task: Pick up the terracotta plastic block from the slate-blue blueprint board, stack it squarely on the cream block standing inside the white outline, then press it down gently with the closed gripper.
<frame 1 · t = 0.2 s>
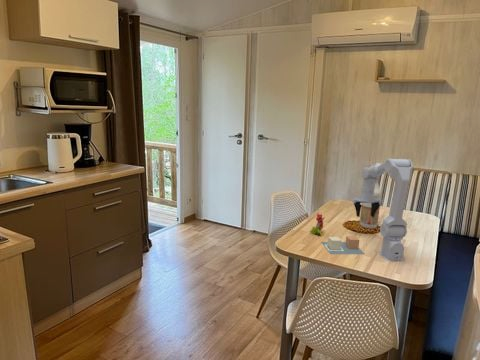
hand: (365, 216, 185), 10 cm above the table, tool pointing down, fingers open, 7 cm apart
blueprint board: (342, 249, 168), on the table
top block: (351, 247, 169), point 1 cm above the table, touching blueprint board
fruit juice: (368, 226, 201), on the table
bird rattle: (317, 234, 186), on the table
base block: (333, 247, 167), point 1 cm above the table, touching blueprint board
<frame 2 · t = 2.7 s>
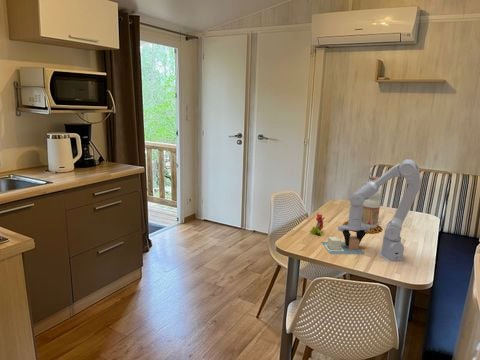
hand: (352, 245, 169), 2 cm above the table, tool pointing down, fingers closed on top block, 4 cm apart
top block: (351, 247, 169), point 1 cm above the table, touching blueprint board, gripper
everything else where it was.
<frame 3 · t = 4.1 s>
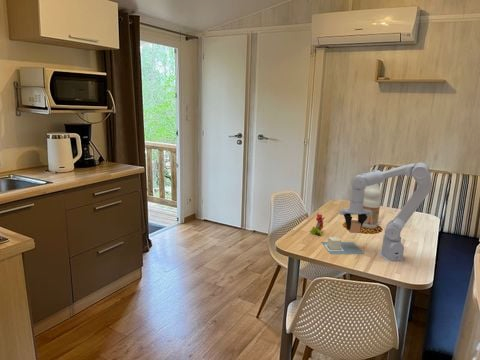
hand: (353, 229, 167), 9 cm above the table, tool pointing down, fingers closed on top block, 4 cm apart
top block: (353, 231, 167), point 9 cm above the table, touching gripper
everything else where it was.
when the fingers open (7 cm above the table, at t = 5.6 s): top block drops 1 cm, resting on base block.
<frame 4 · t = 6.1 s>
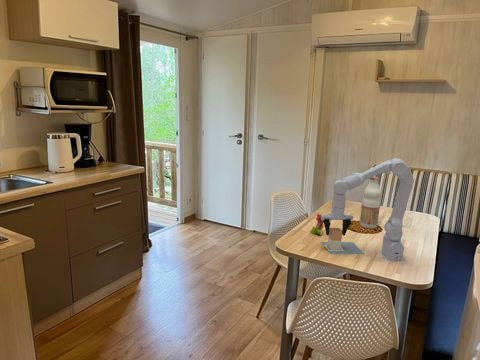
hand: (335, 234, 166), 7 cm above the table, tool pointing down, fingers open, 7 cm apart
top block: (334, 238, 166), point 5 cm above the table, touching base block
base block: (333, 247, 167), point 1 cm above the table, touching blueprint board, top block
everything else where it was.
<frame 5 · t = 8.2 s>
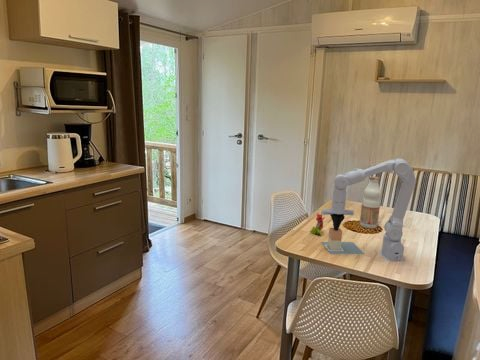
hand: (335, 229, 165), 10 cm above the table, tool pointing down, fingers closed, pressing on top block
top block: (334, 238, 166), point 5 cm above the table, touching base block, gripper
everything else where it was.
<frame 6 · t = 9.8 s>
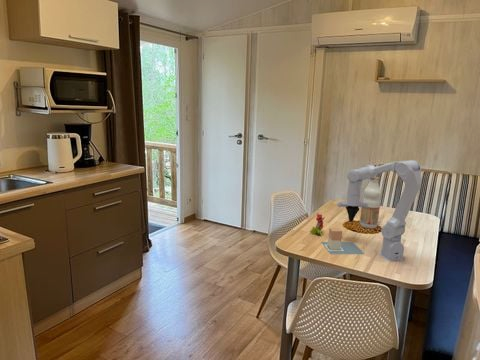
hand: (350, 220, 176), 10 cm above the table, tool pointing down, fingers closed
top block: (334, 238, 166), point 5 cm above the table, touching base block
everything else where it was.
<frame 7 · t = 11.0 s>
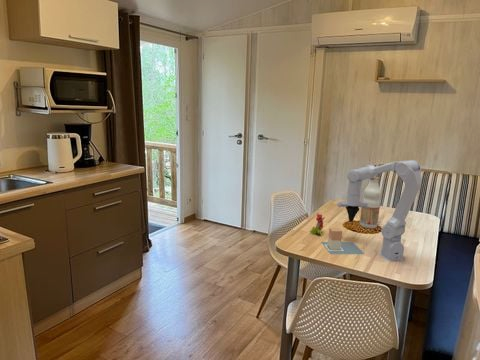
hand: (350, 220, 176), 10 cm above the table, tool pointing down, fingers closed
nothing on the table moved.
at the end: top block 0.0 cm off-centre on the base block, point 4.5 cm above the base block's base; top block tilted 0°; base block moved 0.0 cm from its start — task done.
